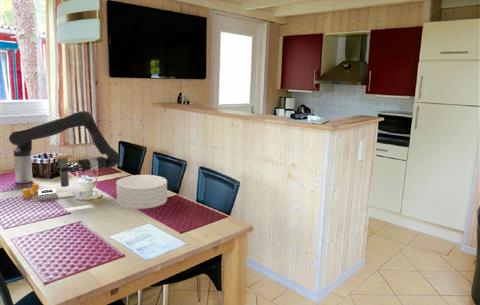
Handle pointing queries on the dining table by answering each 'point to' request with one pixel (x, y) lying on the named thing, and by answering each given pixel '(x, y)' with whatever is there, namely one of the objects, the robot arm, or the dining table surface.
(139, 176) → the plate stack
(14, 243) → the dining table surface
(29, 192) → the orange irregular block
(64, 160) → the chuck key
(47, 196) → the white flat block
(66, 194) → the rest pad
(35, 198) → the pale flat board
